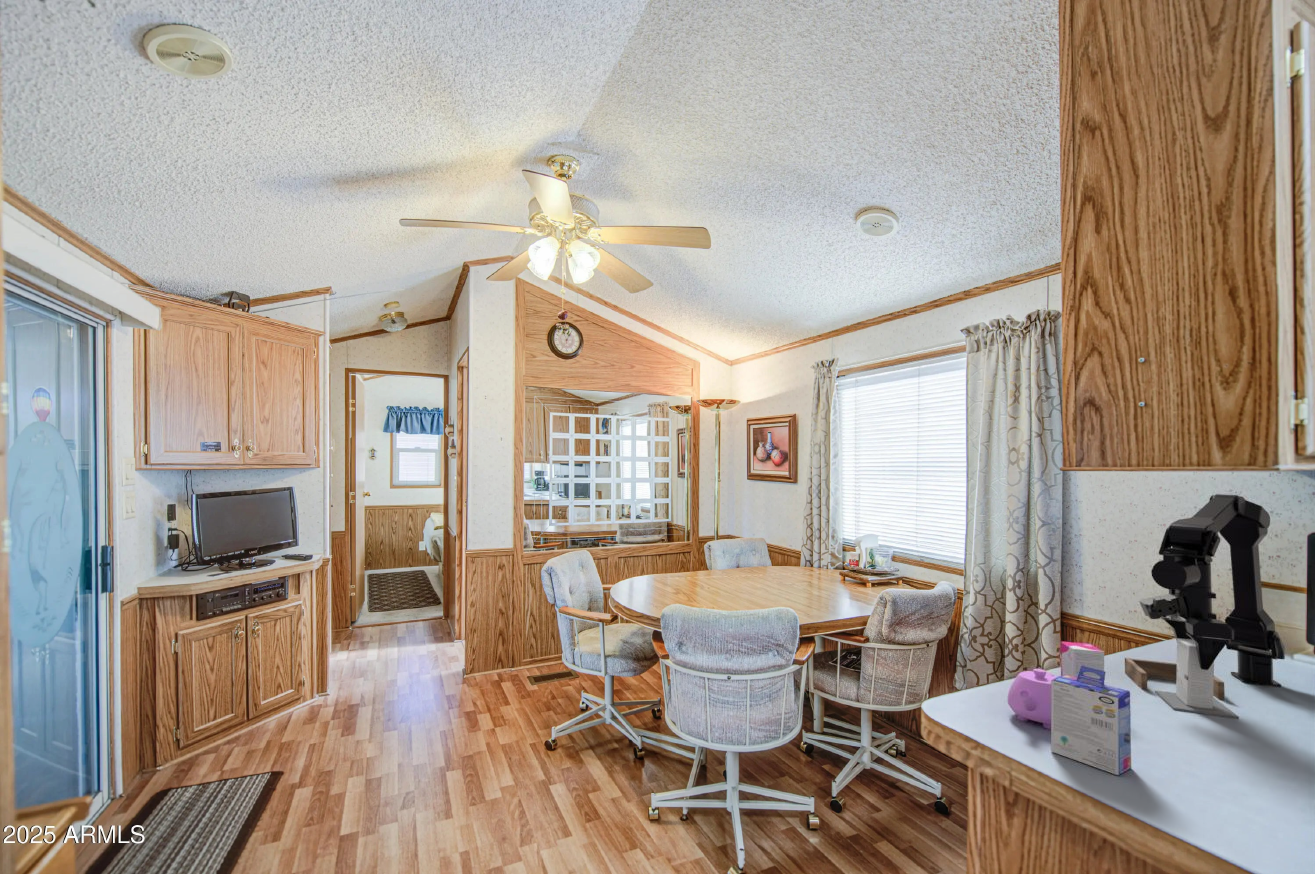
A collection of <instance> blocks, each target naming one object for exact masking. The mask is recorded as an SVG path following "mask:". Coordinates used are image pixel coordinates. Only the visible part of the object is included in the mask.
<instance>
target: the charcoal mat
mask: <svg viewBox="0 0 1315 874" xmlns="http://www.w3.org/2000/svg"><path fill="white" fill-rule="evenodd" d="M1154 693H1155V694H1156V695H1157V696H1158V697H1159V698H1160V699H1161V700H1162V701H1164V703H1165V704H1167V705H1168V706H1169V707H1170V708H1172V710H1173V711H1180V712H1188V713H1194V714H1195V713H1196V714H1202V715H1208V716H1216V717H1224V718H1230V719H1239V717H1240V716H1239V715H1237V714H1236V713H1235V712H1234V711H1232V710H1231V709H1230V708H1228V707H1227V706H1226V705H1225V704H1223V703H1222V702H1220V700H1219V699H1218V698H1216V697H1213V709H1207V708H1199V707H1193V706H1188V705H1186V704H1185V703H1184V702H1183V701H1181V700H1180V699H1179V698H1178V696H1177V695H1176V692H1170V691H1164V690H1163V691H1162V690H1154Z"/></svg>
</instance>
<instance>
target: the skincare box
mask: <svg viewBox="0 0 1315 874" xmlns="http://www.w3.org/2000/svg"><path fill="white" fill-rule="evenodd" d="M1176 664H1177V680H1175V681H1176V684H1175V685H1176V686H1175V689H1176V692H1175V693H1176V695H1177V696H1178V698H1179V699H1180V700H1181V701H1183V702H1184V703H1185V704H1186V705H1188V706H1193V707H1199V708H1207V709H1213V698H1214V695H1213V685H1214V676H1215V674H1214V673H1215V661H1214V662H1213V663H1212V665H1211V666H1210V668H1209V669H1208V670H1203V669H1201V668H1200V664H1199V660H1198V655H1197V650H1196V645H1195V641H1194V640H1192V639H1179V638H1178V639H1177V641H1176Z"/></svg>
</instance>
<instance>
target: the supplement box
mask: <svg viewBox="0 0 1315 874" xmlns="http://www.w3.org/2000/svg"><path fill="white" fill-rule="evenodd" d="M1081 666H1085V667H1089V668H1093V669H1097V670H1101V671H1105V650H1104V651H1103V650H1102V649H1100V648H1098V647H1097V646H1095V645H1093V644H1091V643H1085V642H1082V643H1081V642H1070V641H1061V642H1060V676H1062V675H1067V676H1071V677H1075V678H1077V677H1078V674H1079V671H1080V668H1081ZM1083 675H1084V676H1088V677H1092V678H1095V679H1100V676H1099V675H1097V674H1095V673H1093V672H1083Z"/></svg>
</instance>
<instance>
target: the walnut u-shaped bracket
mask: <svg viewBox="0 0 1315 874" xmlns="http://www.w3.org/2000/svg"><path fill="white" fill-rule="evenodd" d="M1124 674H1125V675H1126V676H1127V677H1128V678H1129V679H1131V681H1133V682H1134V684H1136V685H1137V686H1138V687H1139V688H1140V689H1141V690H1146V691H1147V690H1148V678H1151V679H1152V678H1153V679H1161V680H1169V681H1177V663H1173V662H1163V661H1156V660H1148V659H1147V660H1146V659H1140V658H1139V659H1138V658H1131V657H1130V658H1129V657H1124ZM1213 697H1214V698H1215V699H1217V700H1222V701H1224V700H1226V699H1225V697H1226V696H1225V682H1224V681H1222V680H1221V679H1219V678H1218V676H1217V677H1216V676H1215V675H1214V685H1213Z"/></svg>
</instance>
